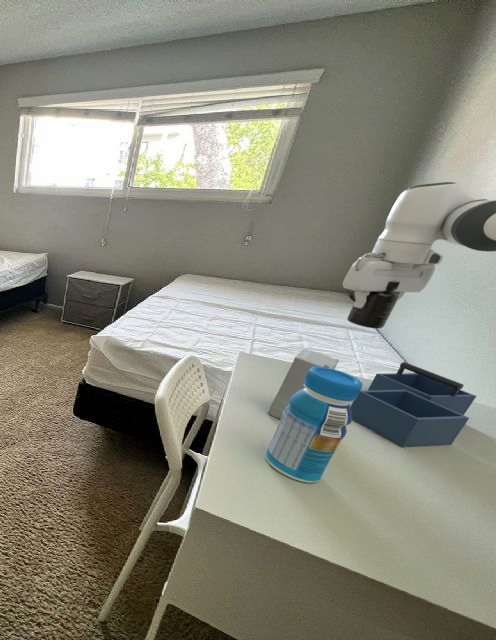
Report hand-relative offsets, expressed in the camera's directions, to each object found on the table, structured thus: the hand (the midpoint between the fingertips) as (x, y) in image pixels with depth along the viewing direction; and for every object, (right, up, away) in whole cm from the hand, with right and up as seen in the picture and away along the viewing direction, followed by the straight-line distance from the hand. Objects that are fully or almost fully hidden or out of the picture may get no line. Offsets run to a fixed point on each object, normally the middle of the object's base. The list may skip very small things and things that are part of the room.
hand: (372, 307), depth 89 cm
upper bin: (+10, -26, 0) cm, 28 cm away
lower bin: (-5, -28, -9) cm, 30 cm away
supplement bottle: (0, -4, +2) cm, 5 cm away
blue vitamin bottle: (-42, -31, -23) cm, 57 cm away
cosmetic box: (-28, -26, -7) cm, 39 cm away
